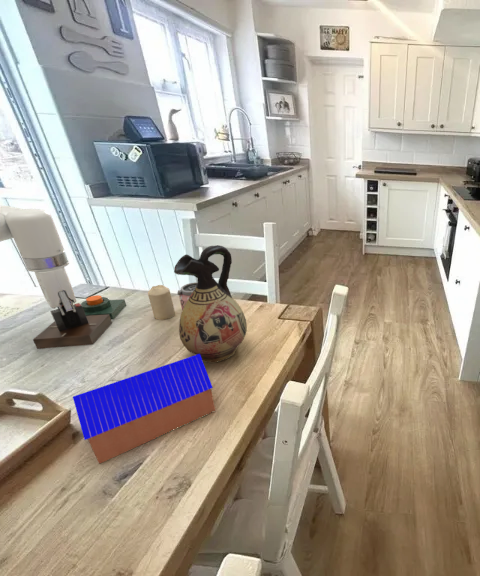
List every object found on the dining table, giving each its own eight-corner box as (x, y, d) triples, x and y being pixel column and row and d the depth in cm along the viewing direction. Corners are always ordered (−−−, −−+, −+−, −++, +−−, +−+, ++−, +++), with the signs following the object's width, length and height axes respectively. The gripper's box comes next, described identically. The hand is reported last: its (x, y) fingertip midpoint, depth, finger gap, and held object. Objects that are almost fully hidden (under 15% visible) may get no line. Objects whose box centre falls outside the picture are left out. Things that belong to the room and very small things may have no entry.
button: (85, 306, 96) (83, 301, 95) (91, 300, 99) (89, 295, 99) (99, 305, 97) (97, 300, 96) (105, 300, 100) (103, 295, 99)
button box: (69, 322, 94) (64, 310, 93) (85, 307, 102) (81, 296, 100) (113, 319, 97) (109, 308, 96) (126, 305, 105) (123, 294, 103)
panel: (37, 349, 83) (32, 339, 82) (62, 326, 93) (58, 316, 91) (92, 344, 86) (89, 334, 85) (112, 322, 96) (109, 313, 94)
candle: (166, 321, 98) (158, 291, 94) (150, 318, 99) (141, 289, 95) (179, 312, 103) (172, 284, 99) (163, 310, 104) (156, 281, 100)
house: (217, 411, 69) (208, 368, 64) (97, 466, 57) (74, 418, 52) (200, 380, 77) (191, 340, 72) (91, 422, 65) (71, 377, 60)
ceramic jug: (199, 380, 77) (172, 264, 64) (177, 350, 86) (150, 243, 73) (265, 352, 88) (254, 248, 76) (240, 328, 98) (226, 232, 85)
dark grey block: (59, 331, 85) (51, 312, 83) (57, 328, 86) (49, 310, 84) (88, 323, 90) (81, 305, 87) (86, 320, 91) (79, 302, 88)
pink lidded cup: (181, 318, 100) (172, 283, 95) (210, 311, 105) (204, 277, 100) (188, 332, 94) (180, 295, 89) (219, 323, 99) (213, 288, 94)
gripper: (19, 255, 81) (47, 318, 89) (31, 274, 73) (61, 341, 81) (59, 249, 87) (82, 308, 95) (75, 265, 78) (98, 329, 86)
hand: (72, 323), depth 88 cm, fingers closed on dark grey block, 2 cm apart
